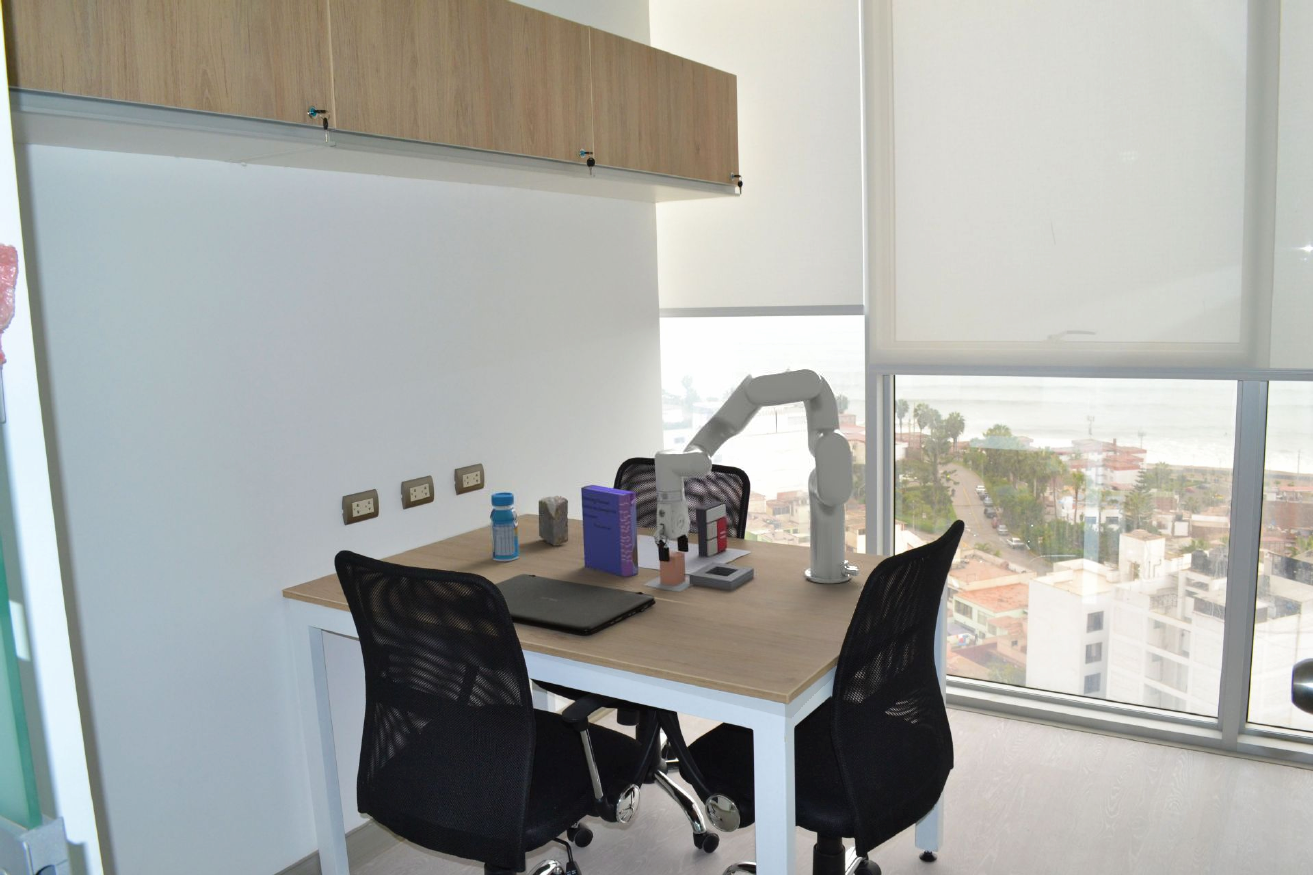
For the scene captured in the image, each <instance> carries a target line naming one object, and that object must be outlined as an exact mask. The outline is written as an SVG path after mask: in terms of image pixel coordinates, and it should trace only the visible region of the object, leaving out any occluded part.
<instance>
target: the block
mask: <svg viewBox="0 0 1313 875" xmlns="http://www.w3.org/2000/svg"><path fill="white" fill-rule="evenodd" d="M685 553H686V552H680V551H674V550H669V554H670V561H669V562H664V561H659V576H660V583H662V584H668V585H673V586H677V585H679V584H680V583H682V582H684V581H685V576H686V561H685V560H686V559H685V558H686V556H685Z"/></svg>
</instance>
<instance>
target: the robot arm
mask: <svg viewBox="0 0 1313 875" xmlns="http://www.w3.org/2000/svg"><path fill="white" fill-rule="evenodd" d="M801 402H803V405H804V409H805V417H806V426H807V427H806V428H807V447H808V451H809V453H810V455H811V456H812V457H813V458H814V463H815V467H813V469H812V470H811V472H810V473H809V476H808V481H807V488H808V489H807V490H808V498H809V500H808V501H809V502H808V503H809V555H810V556H809V558H810V559H809V568H808V569H806V570H805V571H804V577H805V578H806V579H807V580H808V581H810V582H814V583H819V584H838V583H844V582H847V581H848V580H850V579H852V578H851V577H858V576H859V573H860V570H859V567H857V566H850V565H849V560H846V505H845V504H847V503H848V501H850V499H851V497H852V494H853V491H854V490H853V487H854V485H853V484H854V482H853V481H854V479H853V478H854V477H853V464H852V451H851V450H852V449H851V446H850V443H849V441H848V438H847V437H846V436H845V435H844V434H843V433H842V432H841V429H840V422H839V421H840V420H839V418H840V417H839V411H838V410H839V409H838V404H837V403H838V402H837V398H836V395H835V392H834V390H833V387H832V386H831V384H830V382H829V381H828V379H826V377H825V376H823V375H822V374H821V373H820V372H819V371H817V370H816V369H814V368H813V367H810V366H809V365H806V364H802V363H798V364H797V363H796V364H793V365H790V366H789V367H788V368H787V369H786V370H785V371H782V372H775V373H774V372H773V373H765V372H763V371H752V372H750V373H749V374H747V376H745V377H744V379H743V380H742V381H741V382H740V384H738V386H737V387H736V388H735V389H734V391H733V392H732V393H731V395H730V396H729V397H728V399H727V400H726V401H724V403H723V404H722V405H721V407H720V408H719V409H718V410H717V411H716V413H715V414H713V416H712V417H711V418H710V419H709V420H708V421H707V422H706V423H705V424H704V425H703V426H702V427H700V429H699V430H698V431H697V433H696V434H695V435H694V437H693V438H692V439H691V440H690V442H689V443H688V444H687V445H686V446H685V448H684V449H683V451H682V452H681V451H680V450H677V449H662V450H660V451H659V450H658V451H656V453H655V455H654V470H655V488H656V502H657V504H656V505H657V506H656V530H655V531H654V533H653V535H652V536H653V539H654V543H655V544H656V547H657V549H658V561H659V562H660V561H664V562H669V561H670V554H669V551H670V547H669V544H670V540H673V541H674V540H676V541H677V542H676V544H677V552H682V553H688V552H689V536H690V533H689V532H690V530H691V528H690V527H691V518H690V517H689V510H688V509H689V508H688V504H687V500H686V497H685V496H686V495H685V481H684V478H694V479H695V478H696V479H697V478H698V479H699V478H700V479H701V478H703V477H706V476H707V475H709V474H710V472H711V471H712V467H713V460H712V457H713V456H714V455H715V453H717V451H718V450H719V449H721V447H722V446H723V445H724V444H725V443H726V442H727V441H728V440H729V439H731V438H733V437H735V436H737V435H739V434H741V433H742V432H743V431H744V430H745V429H746V428H747V426H748V425H749V424H750V423H751V421H752V420H753V419H754V418H755V416H756V415H757V414H758V413H759V411H760V410H761V409H762V408H763V407H766V408H767V407H775V406H781V405H787V404H794V403H801ZM664 540H665V541H664Z"/></svg>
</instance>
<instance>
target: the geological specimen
mask: <svg viewBox="0 0 1313 875" xmlns="http://www.w3.org/2000/svg"><path fill="white" fill-rule="evenodd" d="M568 514H569V501H568V499H567V498H565V497H562V496H561V495H560V496H559V495H555V496H546V497H542V498H541V499H539V500H538V536H539V537H540V539H541V540H544V541H546V543H548V544H551V545H552V546H560V545H562V544H566V543H567V542H569V524H568V523H569V518H568Z"/></svg>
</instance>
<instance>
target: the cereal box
mask: <svg viewBox="0 0 1313 875" xmlns="http://www.w3.org/2000/svg"><path fill="white" fill-rule="evenodd" d="M580 490H581V491H580V492H581V495H580V496H581V514H582V515H581V516H582V535H583V537H582V538H583V554H584V555H583V556H584V560H583V561H584V567H585V568H590V569H593V570H597V571H599V572H604V573H608V574H612V575H616V576H619V577H623V578H630V577H632V576H636V575H639V556H638V555H639V554H638V528H637V527H638V526H637V525H638V524H637V499H636V498H637V495H636V492H634V491H631V490H626V489H625V490H624V489H618V488H613V487H607V486H602V485H595V484H589V485H585V486H583V487H581V489H580Z"/></svg>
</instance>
